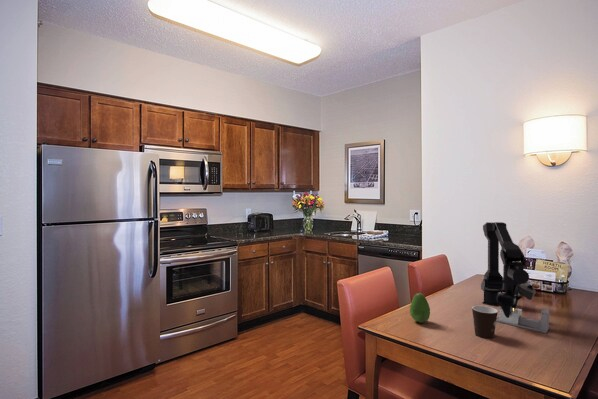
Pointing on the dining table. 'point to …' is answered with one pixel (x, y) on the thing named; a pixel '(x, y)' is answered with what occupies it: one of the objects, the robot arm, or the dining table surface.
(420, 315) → the fruit
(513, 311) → the lock block
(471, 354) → the dining table surface
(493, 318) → the coffee mug
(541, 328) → the hitch plate
